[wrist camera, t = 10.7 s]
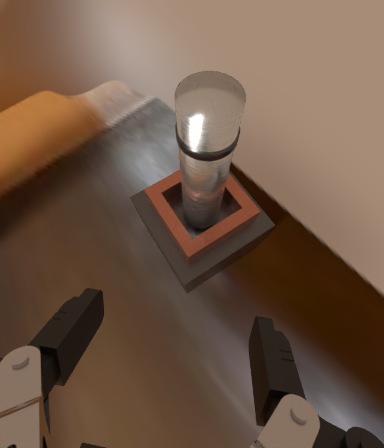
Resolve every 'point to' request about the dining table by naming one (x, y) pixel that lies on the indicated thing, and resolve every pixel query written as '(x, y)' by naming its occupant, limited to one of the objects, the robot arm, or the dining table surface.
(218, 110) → the steel tube
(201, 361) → the dining table surface
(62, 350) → the robot arm
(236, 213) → the block
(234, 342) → the dining table surface
